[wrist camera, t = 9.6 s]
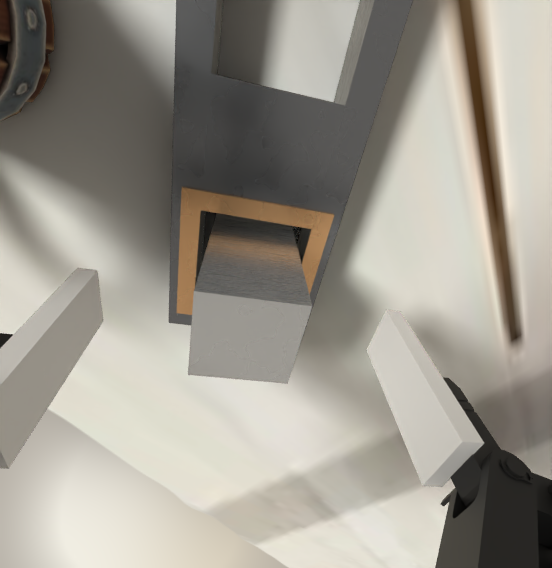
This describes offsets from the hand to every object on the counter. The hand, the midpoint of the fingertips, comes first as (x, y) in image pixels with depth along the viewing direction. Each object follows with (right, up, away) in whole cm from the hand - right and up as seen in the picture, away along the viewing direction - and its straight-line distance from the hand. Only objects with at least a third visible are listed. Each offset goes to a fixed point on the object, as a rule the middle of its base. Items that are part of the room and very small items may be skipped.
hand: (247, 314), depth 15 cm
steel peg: (0, +4, +6) cm, 7 cm away
